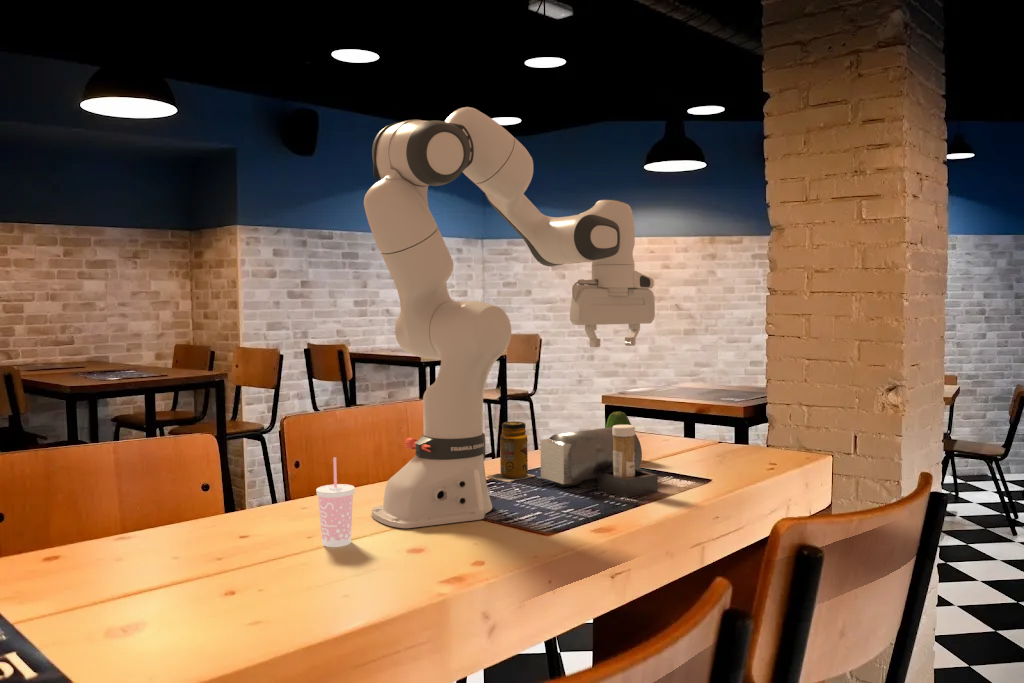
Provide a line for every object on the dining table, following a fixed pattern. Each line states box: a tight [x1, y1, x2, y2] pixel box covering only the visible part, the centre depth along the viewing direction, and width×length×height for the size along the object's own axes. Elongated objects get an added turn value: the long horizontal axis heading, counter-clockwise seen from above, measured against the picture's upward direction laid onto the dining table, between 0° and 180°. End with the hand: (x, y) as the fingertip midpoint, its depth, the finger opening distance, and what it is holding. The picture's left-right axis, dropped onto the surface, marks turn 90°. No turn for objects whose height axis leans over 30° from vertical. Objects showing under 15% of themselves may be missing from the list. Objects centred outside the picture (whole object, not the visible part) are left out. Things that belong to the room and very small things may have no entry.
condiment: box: [486, 421, 537, 483], centre depth 181 cm, size 7×8×12 cm
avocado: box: [605, 410, 632, 428], centre depth 197 cm, size 8×8×12 cm
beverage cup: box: [315, 457, 355, 548], centre depth 133 cm, size 6×6×14 cm
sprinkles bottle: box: [612, 424, 636, 479], centre depth 166 cm, size 5×5×14 cm
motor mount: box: [540, 427, 659, 499], centre depth 172 cm, size 23×21×11 cm
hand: (612, 346), depth 170 cm, fingers open, 8 cm apart
